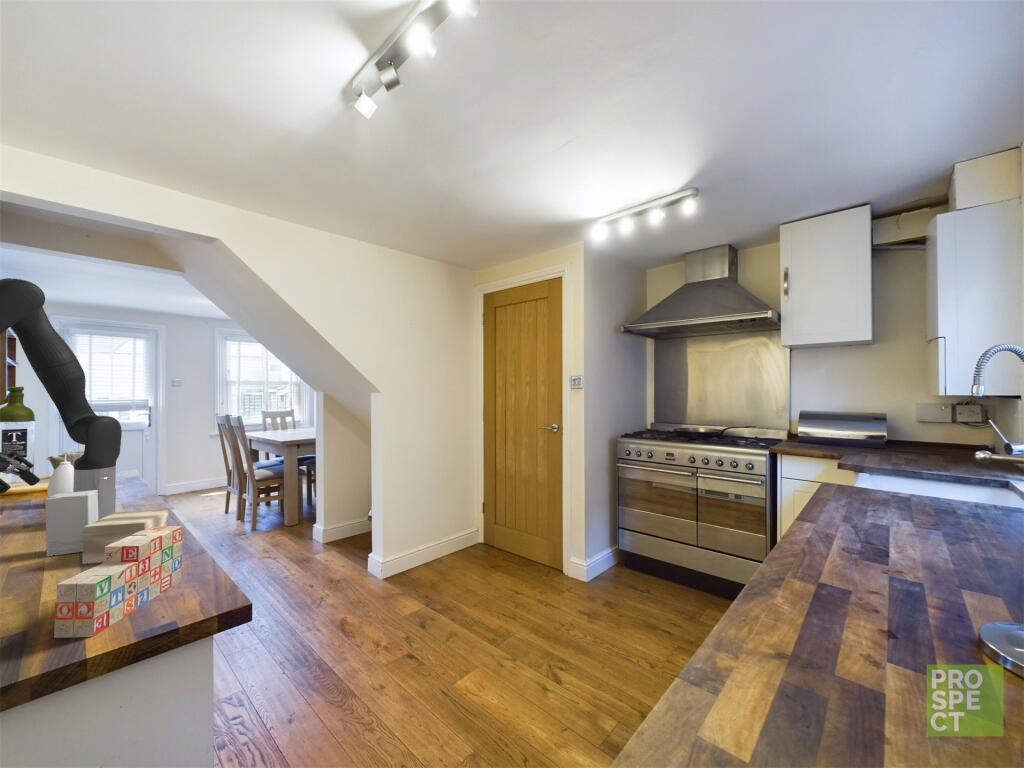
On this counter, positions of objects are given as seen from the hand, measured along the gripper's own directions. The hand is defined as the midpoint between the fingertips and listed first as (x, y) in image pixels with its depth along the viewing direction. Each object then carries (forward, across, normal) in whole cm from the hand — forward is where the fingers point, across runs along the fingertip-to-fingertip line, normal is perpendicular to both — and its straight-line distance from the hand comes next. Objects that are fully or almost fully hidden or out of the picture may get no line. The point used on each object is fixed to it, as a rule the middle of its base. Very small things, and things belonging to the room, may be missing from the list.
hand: (21, 486), depth 104 cm
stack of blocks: (+41, -35, -16) cm, 56 cm away
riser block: (+30, -4, -5) cm, 30 cm away
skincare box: (+20, 0, +5) cm, 20 cm away
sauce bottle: (-4, +50, +28) cm, 57 cm away
